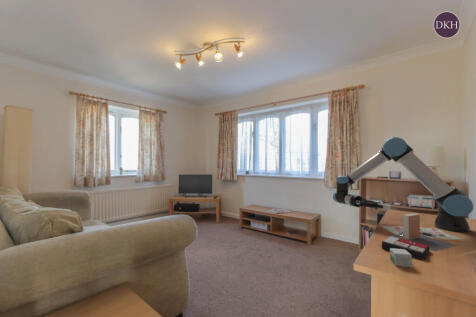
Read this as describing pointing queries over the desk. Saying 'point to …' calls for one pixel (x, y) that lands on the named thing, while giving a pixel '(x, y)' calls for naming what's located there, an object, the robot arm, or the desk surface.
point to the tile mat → (429, 242)
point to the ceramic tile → (411, 226)
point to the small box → (400, 257)
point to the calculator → (406, 247)
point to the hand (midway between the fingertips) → (389, 208)
